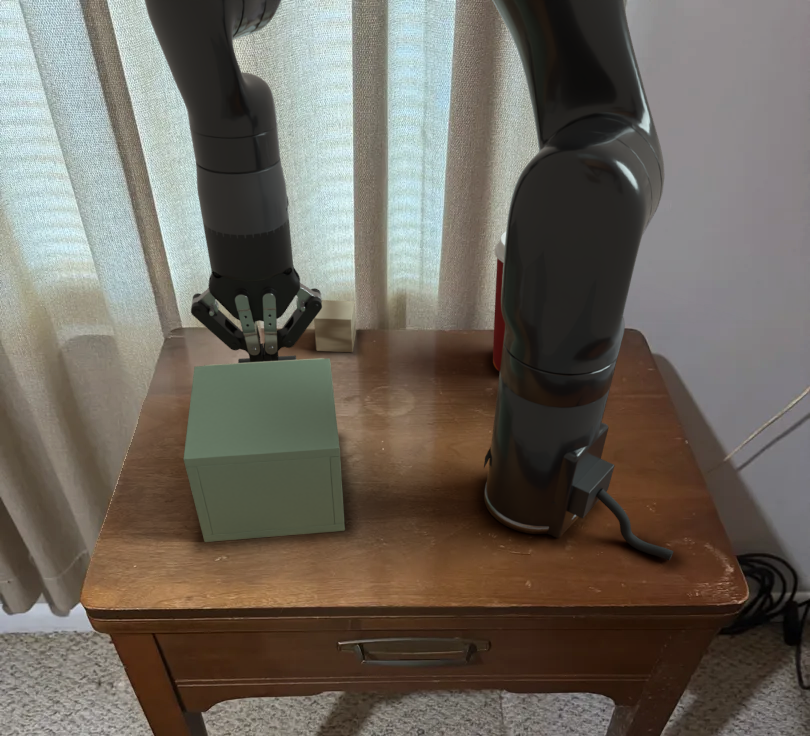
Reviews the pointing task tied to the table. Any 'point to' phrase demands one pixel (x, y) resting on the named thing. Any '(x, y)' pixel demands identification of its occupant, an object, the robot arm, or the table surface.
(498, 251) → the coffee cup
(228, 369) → the cabinet
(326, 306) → the block
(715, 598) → the table surface
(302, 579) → the table surface
